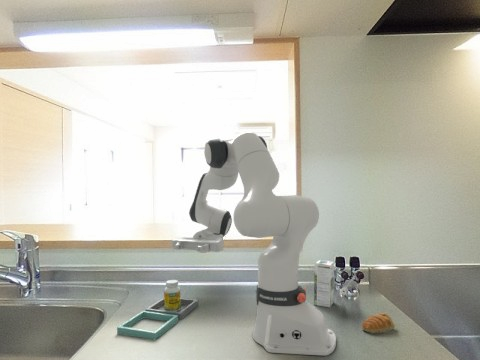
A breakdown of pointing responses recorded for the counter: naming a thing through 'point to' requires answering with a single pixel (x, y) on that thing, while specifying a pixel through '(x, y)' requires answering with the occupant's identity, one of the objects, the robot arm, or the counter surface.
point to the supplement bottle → (172, 296)
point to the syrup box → (324, 283)
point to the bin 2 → (181, 314)
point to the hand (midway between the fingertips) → (188, 248)
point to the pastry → (378, 323)
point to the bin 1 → (145, 333)
